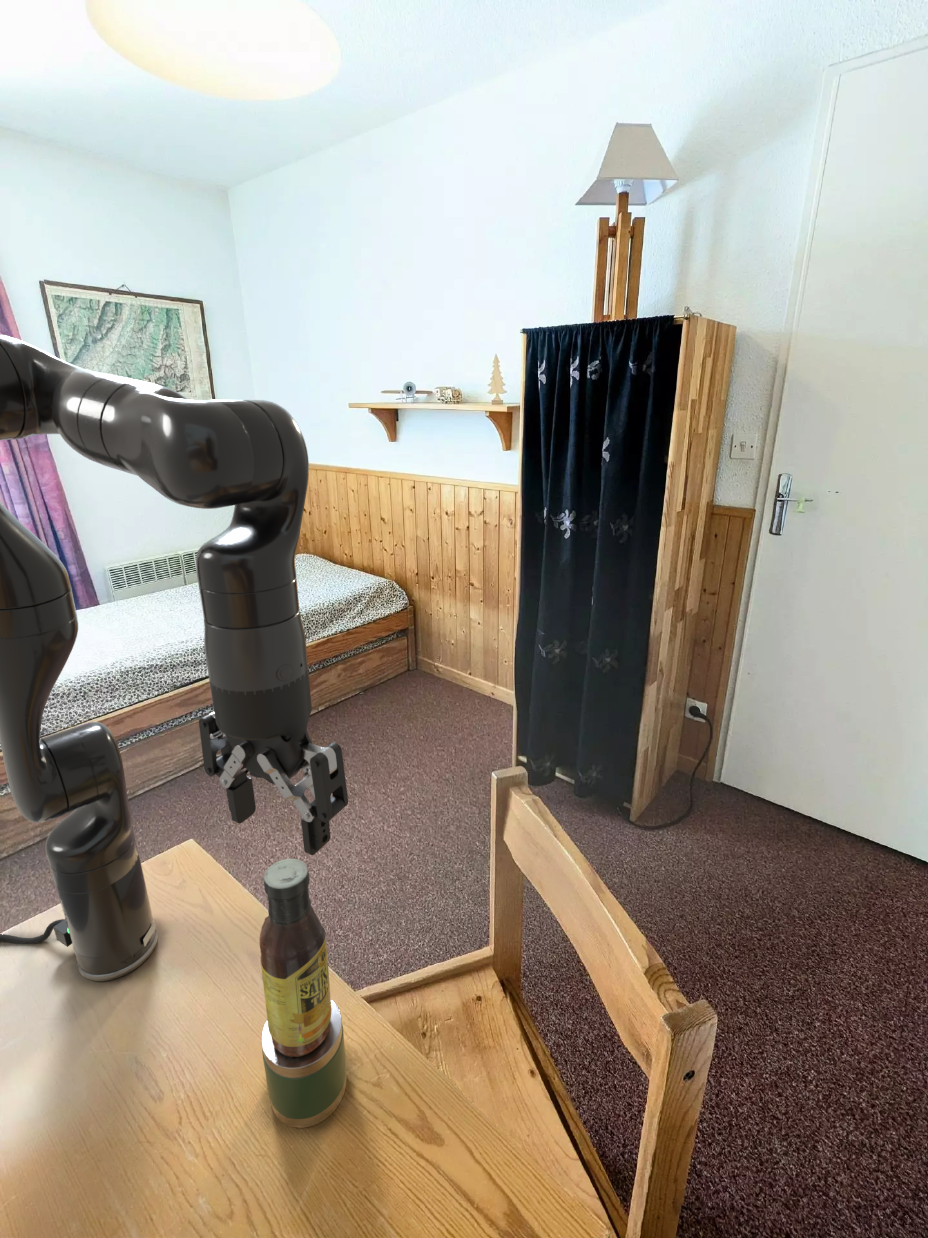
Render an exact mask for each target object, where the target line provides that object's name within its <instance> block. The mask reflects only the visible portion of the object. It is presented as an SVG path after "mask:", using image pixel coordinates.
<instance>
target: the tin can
mask: <svg viewBox="0 0 928 1238" xmlns="http://www.w3.org/2000/svg"><path fill="white" fill-rule="evenodd" d="M331 1009H332V1013H331V1019H330V1028H329V1032H328V1034H327V1035H326V1038H325V1040H324V1041H323V1042H322V1043H321V1044H320V1045H319V1046H318V1047H317V1048H316V1049H314V1050H313V1051H312V1052H310V1053H308V1054H306V1055H303V1056H300V1057H290V1056H287V1055H286V1056H285V1055H283V1054H282V1053H280V1052H279V1051H278V1050H277V1049H276V1048H275V1047H274V1045H273V1043H272V1038H271V1034H270V1032H269V1028H268V1019H267V1018H266V1021H265V1023H264V1025H263V1028H262V1031H261V1048H262V1049H261V1050H262V1051H261V1052H262V1061H263V1067H264V1073H265V1078H266V1079H265V1080H266V1086H267V1091H268V1097H269V1101H270V1105H271V1109H272V1112H273V1114H274V1115H275V1117H276V1118H277V1119H278V1120H279V1121H280V1122H281V1123H283V1124H284V1125H286V1126H287V1127H290V1128H296V1129H304V1128H305V1129H306V1128H310V1127H313V1126H316V1125H318V1124H320V1123H321V1122H322V1123H323V1122H324V1120H327V1118H329V1117H330V1116H331V1115H332V1114H333V1112H335V1110H337V1108H338V1107H339V1105H340V1103H341V1102H342V1099H343V1098H344V1095H345V1092H346V1088H347V1079H348V1078H347V1071H348V1069H347V1058H346V1057H347V1056H346V1047H345V1034H344V1026H343V1022H342V1014H341V1011H340V1008H339V1006H338V1005H337V1003H336V1002H335V1001H334V999H332V998H331Z"/></svg>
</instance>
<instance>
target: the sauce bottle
mask: <svg viewBox="0 0 928 1238" xmlns="http://www.w3.org/2000/svg"><path fill="white" fill-rule="evenodd" d="M310 882H311V878H310V871H309V867H308V865H307V864H306V863H305V862H304V861H302V860H301V859H298V858H285V859H282V860H279V861H276V862H274V863H273V864H271V865H270V866H269V867H268V868H267V869H266V871H265V873H264V875H263V887H264V892H265V894H266V896H267V902H268V903H267V904H268V908H267V909H268V910H267V911H268V915H267V916H266V917H265V918H264V921H263V923H262V925H261V928H260V933H259V949H260V967H261V968H260V970H261V977H262V985H263V986H262V987H263V994H264V1002H265V1011H266V1020H267V1019H268V1028H269V1032H270V1034H271V1038H272V1043H273V1045H274V1047H275V1048H276V1049H277V1050H278V1051H279V1052H280V1053H282V1054H283V1055H285V1056H286V1055H287V1056H290V1057H300V1056H303V1055H306V1054H308V1053H310V1052H312V1051H313V1050H314V1049H316V1048H317V1047H318V1046H319V1045H320V1044H321V1043H322V1042H323V1041H324V1040H325V1038H326V1035H327V1034H328V1032H329V1028H330V1019H331V1013H332V1009H331V999H332V996H331V985H330V972H329V958H328V948H327V947H328V946H327V945H328V944H327V933H326V929H325V928H324V927H323V924H322V923H321V921H320V920H319V918H318V915H317V914H316V912H315V910H314V908H313V906H312V901H311V899H310V894H309V893H310V891H309V885H310Z"/></svg>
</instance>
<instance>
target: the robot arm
mask: <svg viewBox="0 0 928 1238" xmlns="http://www.w3.org/2000/svg"><path fill="white" fill-rule="evenodd" d="M302 432H303V431H302V430H301V428H300V426H299V424H298V422H297V421H296V419H295V418H294V417H293V416H292V414H291V413H290V412H289V411H288V410H287V409H286V408H285V407H283V406H281V405H280V404H278V403H276V402H273V401H270V400H264V399H188V398H187V397H185V396H184V395H183V394H181V393H180V392H178V391H176V390H174V389H172V388H169V387H167V386H165V385H161V384H157V383H154V382H150V381H145V380H140V379H136V378H132V377H127V376H122V375H117V374H112V373H106V372H102V371H101V372H100V371H95V370H90V369H85V368H83V367H80V366H78V365H74V364H72V363H70V362H68V361H66V360H63V359H60V358H59V357H56V356H55V355H53V354H51V353H49V352H48V351H45V350H43V349H41V348H39V347H37V346H35V345H33V344H31V343H28V342H27V341H24V340H21V339H19V338H16V337H12V336H9V335H6V334H2V333H0V441H9V440H10V441H12V440H21V439H27V438H29V437H33V436H41V435H60V437H61V438H62V439H63V441H64V442H65V443H66V444H67V445H68V446H69V447H70V448H71V449H72V450H74V451H75V452H76V453H77V454H79V455H81V456H82V457H84V458H85V459H88V460H90V461H92V462H95V463H97V464H100V465H101V466H105V467H108V468H111V469H114V470H118V471H121V472H124V473H128V474H131V475H133V476H137V477H138V478H140V480H141V481H143V482H144V483H146V484H147V485H148V486H150V487H151V488H152V489H154V491H156V492H158V493H159V494H160V495H161V496H163V497H164V498H166V499H167V500H168V501H171V502H173V503H175V504H178V505H180V506H184V507H188V508H194V509H201V510H215V509H216V510H217V509H221V508H227V507H232V506H234V508H233V512H232V518H231V521H230V523H229V525H228V526H227V527H226V528H225V529H224V530H223V531H222V532H220V533H218V534H217V535H215V536H213V537H212V538H210V539H209V540H207V541H206V542H204V543H203V544H202V545H201V546H200V547H199V549H198V550H197V552H196V557H195V569H196V577H197V582H198V583H197V584H198V591H199V597H200V598H199V599H200V604H201V611H202V617H203V628H204V629H203V632H204V635H203V636H204V637H203V641H204V644H203V645H204V653H205V661H206V668H207V675H208V680H209V687H210V693H211V701H212V707H213V711H211V712H209V713H208V714H206V715H204V716H203V717H200V718H199V719H198V727H199V735H200V744H201V754H202V760H203V761H202V762H203V769H204V772H205V774H206V775H207V776H209V777H214V776H217V777H218V779H219V781H218V782H219V783H220V785H221V786H222V787H223V788H224V789H225V792H226V798H227V805H228V809H229V812H230V816H231V821H233V822H235V823H237V824H243V822H245V821H246V820H248V819H249V818H251V817H252V816H253V815H254V814H255V813H256V810H257V807H256V806H257V805H256V799H255V792H254V784H253V778H252V777H254V778H258V779H264V780H265V781H267V782H268V783H269V784H271V785H272V784H273V785H275V786H276V788H277V790H278V791H279V793H280V794H281V796H282V798H283V799H284V800H285V801H291V802H292V803H293V805H294V806H295V808H296V810H297V811H298V813H299V815H300V816H301V818H300V822H301V823H300V824H301V832H302V833H301V834H302V842H303V852H304V853H306V854H308V855H310V856H315V855H316V854H317V853H318V852H319V851H321V849H322V848H324V847H325V845H326V844H328V843H329V842H330V839H331V828H330V827H331V826H330V825H331V824H330V821H331V820H332V819H333V818H334V817H336V816H337V815H338V814H339V813H340V812H341V811H343V809H344V808H345V807H346V806H348V805H349V797H348V790H347V789H348V788H347V781H346V774H345V773H346V771H345V765H344V758H343V757H344V756H343V749H342V747H341V746H340V744H338V743H337V742H335V741H334V742H331V743H330V744H328V745H327V746H321V745H317V744H314V743H313V741H312V739H311V737H310V735H309V732H308V724H309V720H310V717H311V714H312V709H313V707H312V696H311V685H310V683H311V682H310V673H309V663H308V651H307V640H306V632H305V627H304V625H303V620H302V616H301V610H300V602H299V601H300V600H299V591H298V581H297V580H298V579H297V568H296V555H297V554H296V553H297V548H298V543H299V539H300V535H301V529H302V524H303V516H304V510H305V504H306V498H307V491H308V485H309V477H310V462H309V461H310V460H309V451H308V448H307V447H308V446H307V443H306V440H305V438H304V435H303V433H302ZM78 633H79V619H78V614H77V608H76V604H75V600H74V594H73V589H72V585H71V581H70V577H69V573H68V571H67V568H66V567H65V565H64V563H63V562H62V561H61V560H60V559H59V557H58V556H57V555H56V554H55V552H53V550H51V548H49V547H48V546H47V545H46V544H45V543H44V542H43V541H42V540H41V539H39V537H37V536H36V535H35V534H34V533H33V532H32V530H30V529H29V528H27V526H25V525H24V524H23V523H22V522H21V521H20V520H19V519H18V518H17V517H16V516H15V515H14V514H13V513H11V512H10V510H8V508H7V507H6V506H5V505H4V504H3V503H2V501H0V748H1V753H2V758H3V764H4V768H5V773H6V777H7V781H8V786H9V791H10V793H11V796H12V797H11V798H12V799H13V802H14V804H15V806H16V808H17V810H18V812H19V814H20V815H21V816H22V817H23V818H24V819H26V820H27V821H29V822H31V823H33V824H40V823H44V822H49V821H53V820H55V819H57V818H60V817H62V816H65V815H67V814H69V813H70V814H69V815H67V816H66V817H65V818H63V819H62V820H61V821H60V822H59V823H58V824H56V825H55V827H53V829H52V830H50V832H49V834H48V836H47V838H46V841H45V846H44V847H45V855H46V857H47V858H46V859H47V861H48V865H49V868H50V872H51V876H52V879H53V882H54V886H55V888H56V891H57V896H58V899H59V903H60V905H61V909H62V912H63V916H64V918H61V919H56V920H54V921H52V922H51V923H49V924H48V925H47V926H46V928H45V930H44V932H43V934H40V935H38V936H35V937H34V936H33V937H22V936H15V935H10V934H4V933H0V942H3V943H4V942H5V943H11V944H15V945H35V944H39V943H42V942H44V941H46V940H47V939H48V938H49V937H50V936H51V934H52V933H53V931H54V935H55V938H56V940H57V941H58V942H60V943H61V944H62V945H63V946H66V947H67V948H68V947H69V946H71V945H72V947H73V951H74V955H75V958H76V965H77V969H78V972H79V973H80V975H81V976H82V977H83V978H84V979H87V980H89V981H94V982H107V981H110V980H114V979H115V980H116V979H118V978H120V977H123V976H125V975H127V974H130V973H131V972H133V971H134V970H136V969H138V968H139V967H140V966H141V965H142V964H144V963H145V962H146V961H147V960H148V958H149V957H150V956H151V955H152V953H153V952H154V950H155V948H156V946H157V943H158V938H159V937H158V936H159V935H158V930H157V923H156V920H155V919H154V916H153V911H152V906H151V903H150V897H149V893H148V889H147V884H146V880H145V876H144V871H143V866H142V863H141V858H140V854H139V849H138V844H137V839H136V836H135V831H134V826H133V818H132V812H131V809H130V804H129V797H128V796H129V795H128V791H127V790H128V789H127V784H126V777H125V776H126V775H125V769H124V763H123V758H122V757H123V756H122V755H121V751H120V747H119V744H118V741H117V738H115V735H114V734H113V732H112V731H111V730H110V728H109V727H107V726H106V725H105V724H104V723H102V722H99V721H92V722H87V723H83V724H80V725H77V726H74V727H70V728H69V729H68V728H67V729H65V730H62V731H59V732H55V733H54V734H50V735H47V736H44V737H41V729H42V721H43V716H44V711H45V708H46V705H47V703H48V699H49V697H50V695H51V693H52V690H53V688H54V687H55V685H56V683H57V681H58V679H59V677H60V675H61V673H62V671H63V670H64V668H65V666H66V664H67V661H68V660H69V657H70V655H71V653H72V651H73V649H74V646H75V644H76V641H77V638H78ZM219 751H220V753H221V754H220V756H218V757H217V753H218V752H219ZM300 770H302V772H303V778H302V779H301V780H300V781H298V782H296V784H294V783H293V782H292V781H291V779H292V778H293V777H295V776H296V775H297V774H299V772H300ZM249 775H250V776H249ZM251 776H252V777H251ZM306 790H309V791H310V793H311V795H312V796H313V798H314V799H313V800H312V801H311V802H310V801H309V799H308V798H307V796H306V795H305V791H306ZM2 934H3V935H2Z"/></svg>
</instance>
